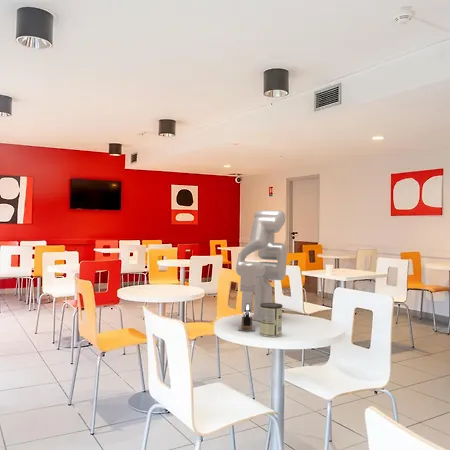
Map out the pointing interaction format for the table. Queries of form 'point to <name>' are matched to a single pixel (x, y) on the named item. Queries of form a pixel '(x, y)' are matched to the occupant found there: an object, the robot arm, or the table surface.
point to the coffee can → (271, 319)
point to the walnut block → (246, 326)
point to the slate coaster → (245, 329)
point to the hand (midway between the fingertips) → (246, 323)
